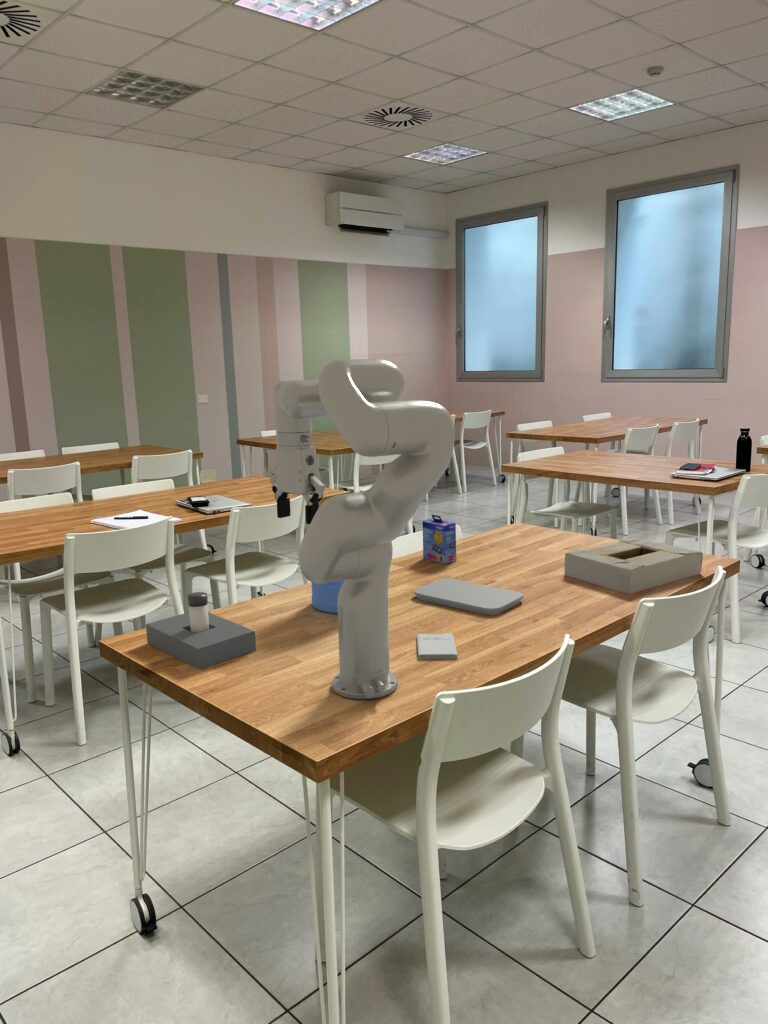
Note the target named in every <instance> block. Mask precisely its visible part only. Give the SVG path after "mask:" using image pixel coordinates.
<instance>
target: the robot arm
mask: <svg viewBox="0 0 768 1024" xmlns="http://www.w3.org/2000/svg"><path fill="white" fill-rule="evenodd" d="M273 387H274V389H273V392H274V397H273V398H274V414H275V417H274V418H275V419H274V420H275V431H276V432H275V438H276V449H275V459H274V460H275V461H274V463H275V464H274V472H275V473H274V475H272V476H270V477H269V482H270V485H271V490H272V492H273V494H274V500H276V514H277V515H276V517H277V518H278V519H282V518H288V517H290V516H291V513H292V512H291V498H290V497H289V496H290V495H296V496H302V498H303V499H304V501H305V503H306V504H305V505H304V510H305V511H304V512H305V513H304V515H305V523H306V525H308V527H307V530H306V531H305V534H304V535H303V538H302V540H301V543H300V546H299V549H298V565H299V569H300V571H301V574H302V575H303V577H304V578H305V579H306V580H307V581H309V582H310V583H311V584H312V583H315V584H326V583H332V582H337V581H342V580H344V582H343V584H342V586H341V589H340V592H339V595H338V613H337V628H338V629H337V630H338V631H337V632H338V653H339V654H338V655H339V657H338V659H339V661H338V662H339V673H337V674H336V675H335V676H334V677H333V679H332V681H331V688H332V690H333V691H334V692H335V693H336V694H337V695H339V696H341V697H344V698H346V699H347V698H348V699H353V700H372V699H379V698H382V697H385V696H388V695H389V694H392V693H393V692H394V691H395V690H396V689H397V688H398V684H399V683H398V682H399V681H398V677H397V676H396V674H394V673H393V672H391V671H390V641H389V640H390V638H389V637H390V636H389V634H390V633H389V579H390V578H389V577H390V571H391V566H392V559H393V542H392V541H394V540H396V539H397V538H398V537H399V536H400V535H401V533H402V532H403V530H404V529H405V528H406V526H407V525H408V523H409V522H410V520H411V518H412V517H413V516H414V514H415V512H416V511H417V510H418V508H419V507H420V505H421V503H422V502H423V500H424V499H425V498H426V496H427V495H428V494H429V493H430V491H431V490H432V489H433V488H434V487H435V486H436V485H437V483H438V482H439V481H440V479H441V478H442V476H443V475H444V474H445V472H446V470H447V469H448V466H449V465H450V463H451V459H452V456H453V454H454V453H453V452H454V448H455V437H456V436H455V433H456V432H455V425H454V421H453V418H452V416H451V413H450V412H449V411H448V410H447V409H446V408H445V407H444V406H443V405H441V404H439V403H436V402H434V401H429V400H418V399H414V400H413V399H412V400H411V399H409V400H399V399H400V397H402V394H403V392H404V390H405V389H404V388H405V378H404V375H403V373H402V371H401V370H400V368H399V367H398V366H397V365H396V364H394V363H392V362H391V361H389V360H386V359H380V358H362V359H360V358H358V359H357V358H356V359H355V358H354V359H353V358H351V359H337V360H332V361H330V362H329V363H327V364H326V365H325V366H324V367H323V368H322V370H321V372H320V374H319V376H318V379H317V378H315V379H295V380H294V379H291V380H290V379H289V380H280V381H277V382H276V383H275V384H274V386H273ZM325 417H326V418H327V417H328V418H329V417H330V419H331V420H332V422H333V423H334V425H335V426H336V428H337V430H338V431H339V433H340V434H341V435H342V437H343V439H344V440H345V442H346V444H348V446H349V448H351V450H353V452H355V453H356V454H358V455H359V456H361V457H369V458H376V457H386V456H395V455H396V456H397V455H399V456H397V457H396V458H395V459H393V460H392V461H390V462H389V463H388V464H387V465H385V467H384V468H382V470H381V471H380V473H379V474H378V476H377V477H376V480H375V481H374V483H373V484H372V486H371V487H370V488H369V489H366V490H363V491H357V492H351V493H344V494H337V495H333V496H331V497H329V498H327V499H325V501H323V502H322V501H321V500H322V499H323V497H324V493H325V489H326V485H325V484H324V483H323V482H322V481H321V478H320V477H321V476H320V467H319V459H318V455H317V450H316V447H315V446H314V444H313V443H314V441H313V440H314V439H313V422H312V420H313V419H315V418H325ZM310 496H311V497H310ZM321 502H322V503H321Z"/></svg>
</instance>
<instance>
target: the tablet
mask: <svg viewBox="0 0 768 1024" xmlns="http://www.w3.org/2000/svg"><path fill="white" fill-rule="evenodd" d="M413 594H414V595H415V596H416V599H417V600H420V601H425V602H429V603H433V604H438V605H442V606H448V607H452V608H455V609H460V610H465V611H469V612H474V613H477V614H482V615H487V616H488V615H489V616H494V615H499V614H501V613H503V612H505V611H507V610H509V609H511V608H513V607H515V606H517V605H518V604H520V603H521V601H522V599H523V598H524V593H523V592H520V591H516V590H512V589H508V588H503V587H502V588H501V587H497V586H491V585H486V584H480V583H475V582H471V581H466V580H461V579H457V578H456V579H455V578H450V577H449V578H439V579H437V580H434V581H431V582H429V583H428V584H424V585H422V586H419V587H416V588H415V589H414V590H413Z"/></svg>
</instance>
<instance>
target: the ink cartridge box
mask: <svg viewBox="0 0 768 1024" xmlns="http://www.w3.org/2000/svg"><path fill="white" fill-rule="evenodd" d="M431 517H432V518H430V519H426V520H422V557H423V559H425V560H430V561H432V562H436V563H441V564H442V565H443V564H445V565H446V564H450V563H452V562H457V528H456V526H457V525H456V522H454V521H449V520H443V519H442V517H441V515H436V514H431Z"/></svg>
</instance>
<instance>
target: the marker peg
mask: <svg viewBox="0 0 768 1024" xmlns="http://www.w3.org/2000/svg"><path fill="white" fill-rule="evenodd" d="M187 604H188V605H187V606H188V612H189V616H190V630H191V632H192V633H194V634H196V633H199V632H203V631H206V630H209V619H208V612H209V608H208V606H209V605H208V604H209V599H208V593H207V592H204V591H197V592H196V591H195V592H192V593H188V594H187Z"/></svg>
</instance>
